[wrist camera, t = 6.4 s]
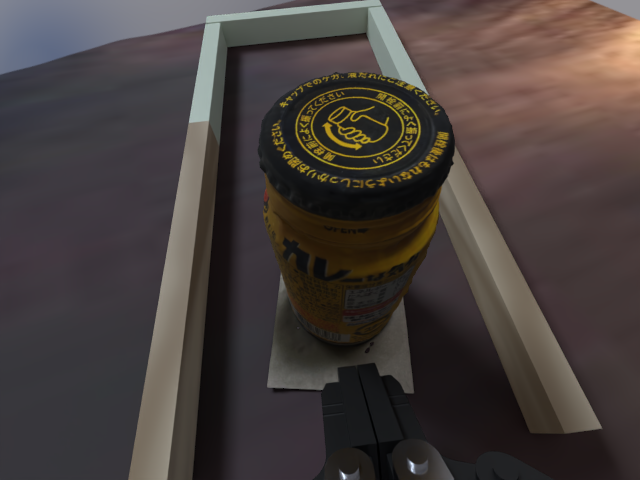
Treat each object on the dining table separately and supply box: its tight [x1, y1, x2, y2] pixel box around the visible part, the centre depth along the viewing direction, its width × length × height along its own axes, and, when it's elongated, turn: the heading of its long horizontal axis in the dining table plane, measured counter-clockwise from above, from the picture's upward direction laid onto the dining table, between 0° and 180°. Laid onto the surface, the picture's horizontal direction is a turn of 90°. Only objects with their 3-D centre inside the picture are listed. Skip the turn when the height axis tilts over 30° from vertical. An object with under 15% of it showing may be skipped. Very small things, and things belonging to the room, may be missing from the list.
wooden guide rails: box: [128, 121, 602, 480], centre depth 19 cm, size 18×22×2 cm
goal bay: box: [189, 0, 428, 145], centre depth 29 cm, size 18×18×2 cm
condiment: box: [258, 72, 455, 393], centre depth 13 cm, size 7×8×12 cm
